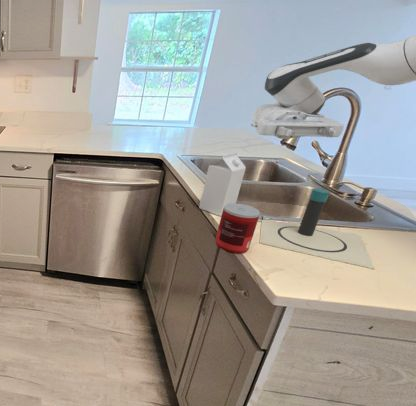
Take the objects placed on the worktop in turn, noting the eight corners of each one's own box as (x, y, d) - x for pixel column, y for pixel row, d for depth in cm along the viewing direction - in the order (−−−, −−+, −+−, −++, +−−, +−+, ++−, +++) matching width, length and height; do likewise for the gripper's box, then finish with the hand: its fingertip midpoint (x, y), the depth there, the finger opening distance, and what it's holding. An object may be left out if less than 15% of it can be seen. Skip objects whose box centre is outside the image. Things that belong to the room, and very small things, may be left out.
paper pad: (360, 235, 101) (360, 234, 100) (374, 269, 86) (374, 267, 86) (261, 216, 113) (262, 215, 113) (259, 243, 98) (259, 242, 98)
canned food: (239, 240, 100) (250, 203, 96) (254, 255, 93) (266, 216, 89) (209, 238, 102) (218, 202, 97) (221, 253, 95) (232, 215, 90)
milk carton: (198, 208, 120) (211, 152, 112) (211, 204, 123) (225, 149, 115) (220, 216, 114) (235, 158, 106) (233, 211, 117) (249, 154, 109)
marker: (312, 232, 102) (329, 189, 97) (313, 237, 100) (330, 193, 94) (297, 229, 104) (312, 187, 99) (297, 234, 102) (313, 191, 96)
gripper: (251, 113, 115) (272, 122, 103) (328, 114, 111) (359, 123, 98) (246, 133, 118) (265, 143, 106) (321, 134, 113) (350, 146, 101)
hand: (311, 134), depth 102 cm, fingers open, 8 cm apart
